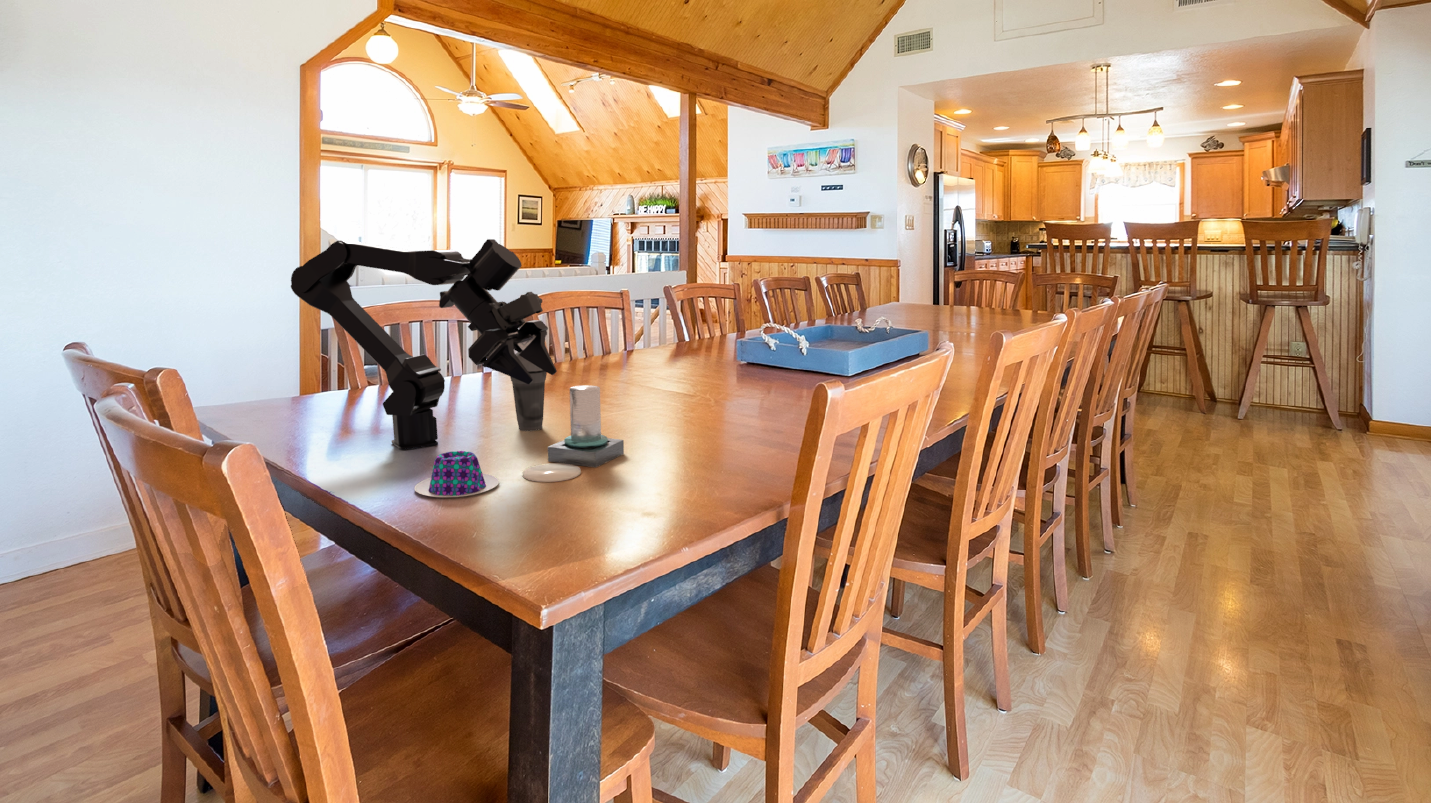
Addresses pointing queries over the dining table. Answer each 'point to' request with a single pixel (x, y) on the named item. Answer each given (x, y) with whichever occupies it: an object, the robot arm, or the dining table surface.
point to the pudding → (456, 476)
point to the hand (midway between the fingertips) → (543, 377)
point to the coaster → (551, 472)
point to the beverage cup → (529, 397)
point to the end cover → (585, 418)
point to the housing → (586, 453)
